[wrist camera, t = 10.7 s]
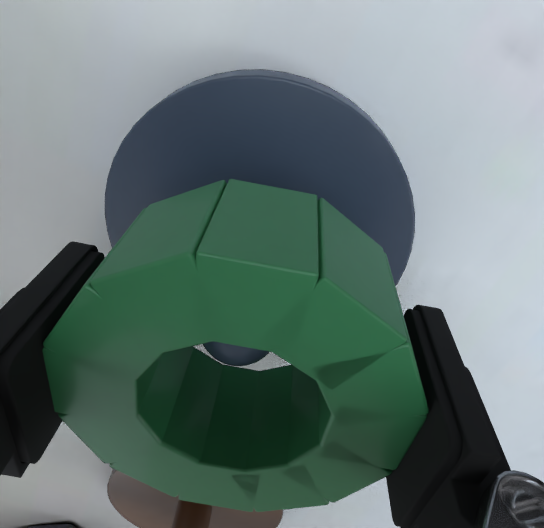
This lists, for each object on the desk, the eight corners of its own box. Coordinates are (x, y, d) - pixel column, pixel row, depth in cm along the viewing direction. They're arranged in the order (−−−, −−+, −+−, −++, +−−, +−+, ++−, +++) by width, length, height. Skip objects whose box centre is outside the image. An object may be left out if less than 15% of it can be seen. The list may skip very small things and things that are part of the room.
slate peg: (106, 37, 11) (-50, 76, 6) (459, 105, 12) (570, 192, 7) (121, 310, 17) (44, 444, 12) (360, 351, 17) (381, 499, 12)
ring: (99, 152, 9) (12, 218, 6) (445, 217, 9) (496, 307, 6) (115, 385, 13) (67, 481, 10) (351, 427, 13) (360, 531, 10)
